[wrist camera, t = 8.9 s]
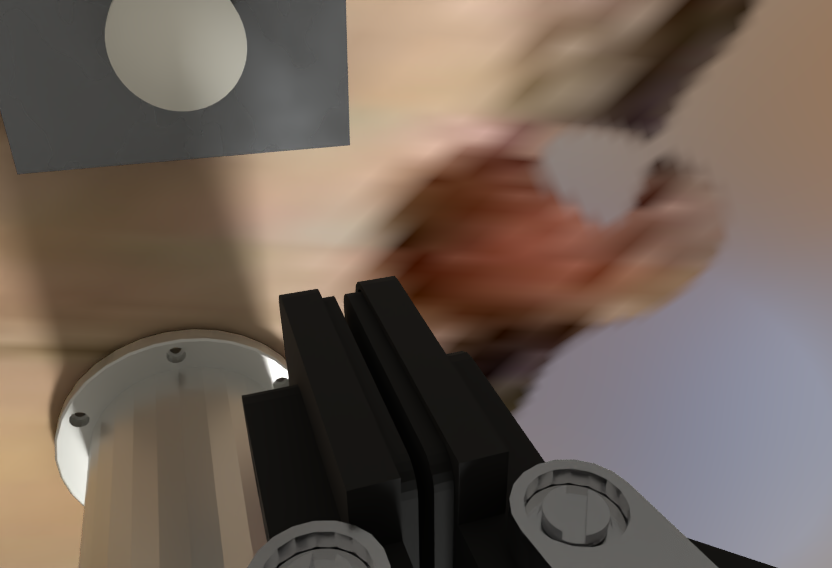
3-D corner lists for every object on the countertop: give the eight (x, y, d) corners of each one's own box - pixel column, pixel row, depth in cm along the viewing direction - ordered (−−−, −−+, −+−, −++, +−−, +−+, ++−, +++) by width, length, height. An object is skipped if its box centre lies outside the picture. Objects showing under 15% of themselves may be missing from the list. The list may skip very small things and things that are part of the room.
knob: (238, 74, 29) (253, 106, 25) (122, 81, 28) (118, 116, 24) (226, -46, 27) (240, -30, 23) (99, -44, 26) (91, -28, 22)
